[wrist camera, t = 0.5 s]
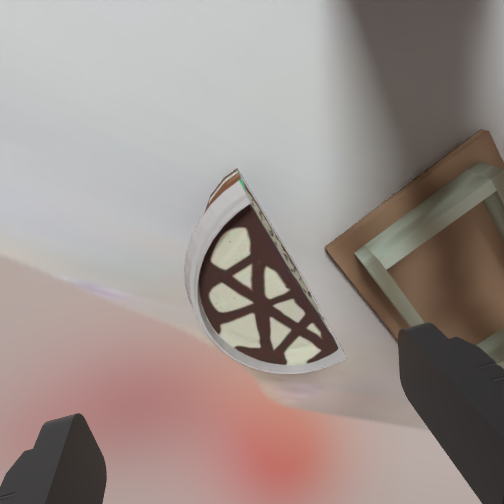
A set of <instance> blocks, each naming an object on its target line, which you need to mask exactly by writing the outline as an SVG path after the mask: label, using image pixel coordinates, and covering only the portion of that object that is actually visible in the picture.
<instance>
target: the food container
mask: <svg viewBox="0 0 504 504" xmlns="http://www.w3.org/2000/svg"><path fill="white" fill-rule="evenodd" d="M184 271H185V286H186V290H187V294H188V298H189V301H190V303H191V305H192V308H193V310H194V312H195V315H196V317H197V319H198V321H199V324H200V325H201V327H202V328H203V330H204V331H205V333H206V334H207V336H208V337H209V338H210V339H211V340H212V341H213V342H214V343H215V344H216V345H217V346H218V347H219V348H220V349H221V350H222V351H223V352H224V353H226V354H227V355H229V356H230V357H231V358H233V359H234V360H236V361H238V362H240V363H242V364H244V365H246V366H248V367H251V368H254V369H257V370H260V371H265V372H270V373H277V374H297V373H307V372H312V371H317V370H321V369H324V368H327V367H330V366H333V365H335V364H338V363H340V362H342V361H344V360H346V359H347V358H346V356H345V353H344V352H343V350H342V348H341V346H340V344H339V342H338V341H337V339H336V337H335V335H334V334H333V332H332V330H331V328H330V326H329V324H328V322H327V321H326V319H325V317H324V315H323V313H322V311H321V309H320V308H319V306H318V304H317V302H316V300H315V298H314V297H313V295H312V293H311V291H310V289H309V287H308V285H307V284H306V282H305V280H304V278H303V276H302V274H301V272H300V271H299V269H298V267H297V265H296V264H295V262H294V260H293V259H292V257H291V255H290V254H289V252H288V251H287V249H286V247H285V246H284V244H283V242H282V241H281V239H280V237H279V236H278V234H277V232H276V231H275V229H274V228H273V226H272V224H271V223H270V221H269V219H268V218H267V216H266V214H265V213H264V211H263V209H262V208H261V206H260V205H259V203H258V201H257V200H256V198H255V196H254V195H253V193H252V191H251V190H250V188H249V186H248V185H247V183H246V181H245V180H244V178H243V177H242V175H241V173H240V172H239V170H238V168H237V169H236V170H234V171H233V172H232V173H230V174H229V175H227V176H226V177H225V178H224V179H223V180H222V181H221V183H220V184H219V185H218V187H217V188H216V189H215V190H214V192H213V193H212V194H211V196H210V199H209V202H208V204H207V207H206V210H205V213H204V215H203V216H202V217H201V219H200V220H199V222H198V224H197V226H196V228H195V230H194V232H193V234H192V236H191V239H190V242H189V246H188V249H187V252H186V260H185V267H184Z"/></svg>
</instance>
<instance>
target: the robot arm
mask: <svg viewBox="0 0 504 504" xmlns="http://www.w3.org/2000/svg"><path fill="white" fill-rule="evenodd" d="M398 347H399V367H400V379H401V384H402V387H403V390H404V392H405V394H406V396H407V398H408V400H409V401H410V403H411V404H412V406H413V407H414V409H415V410H416V411H417V413H418V414H419V416H420V417H421V418H422V420H423V421H424V423H425V424H426V425H427V427H428V428H429V430H430V431H431V432H432V434H433V435H434V436H435V438H436V439H437V441H438V442H439V444H440V445H441V446H442V448H443V449H444V451H445V452H446V453H447V455H448V456H449V457H450V459H451V460H452V462H453V463H454V464H455V466H456V467H457V469H458V470H459V471H460V473H461V474H462V476H463V477H464V478H465V480H466V481H467V483H468V484H469V485H470V487H471V488H472V490H473V491H474V492H475V494H476V495H477V496H478V498H479V499H480V501H481V502H482V504H504V369H503V368H502V367H501V366H500V365H497V364H496V362H495V361H494V360H493V359H492V358H491V357H490V356H489V355H488V354H486V353H485V352H484V351H483V350H482V349H481V348H480V347H478V346H476V345H474V344H472V343H470V342H468V341H465V340H463V339H461V338H459V337H453V338H450V339H448V338H447V337H446V336H445V335H444V334H443V333H442V332H441V331H440V330H439V329H438V328H437V327H436V326H435V325H434V324H432V323H430V322H427V323H423V324H419V325H415V326H412V327H408V328H404V329H401V330H399V333H398ZM106 477H107V475H106V465H105V461H104V457H103V455H102V453H101V451H100V449H99V447H98V445H97V443H96V440H95V438H94V436H93V434H92V432H91V430H90V428H89V426H88V424H87V422H86V420H85V418H84V417H83V416H82V415H81V414H79V413H78V414H74V415H70V416H66V417H63V418H59V419H55V420H51V421H48V422H46V423H45V424H44V425H43V426H42V428H41V431H40V433H39V436H38V438H37V440H36V443H35V445H34V448H33V449H31V450H27V451H25V452H23V454H22V455H21V456H20V457H19V459H18V460H17V461H16V462H15V463H14V465H13V466H12V467H11V468H10V470H9V471H8V472H7V473H6V475H5V477H4V480H3V482H2V485H1V486H0V504H102V503H103V497H104V492H105V487H106Z"/></svg>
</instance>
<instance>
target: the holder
mask: <svg viewBox="0 0 504 504" xmlns="http://www.w3.org/2000/svg"><path fill="white" fill-rule="evenodd" d="M325 249H326V250H327V251H328V253H329V254H330V255H331V257H332V258H333V259H334V260H335V262H336V263H337V264H338V265H339V267H340V268H341V269H342V270H343V272H344V273H345V274H346V275H347V277H348V278H349V279H350V280H351V282H352V283H353V284H354V286H355V287H356V288H357V289H358V291H359V292H360V293H361V294H362V296H363V297H364V298H365V299H366V301H367V302H368V303H369V304H370V306H371V307H372V308H373V310H374V311H375V312H376V313H377V315H378V316H379V317H380V318H381V320H382V321H383V322H384V323H385V325H386V326H387V327H388V328H389V330H390V331H391V332H392V333H393V335H394V336H395V337H396V339H397V340H398V333H399V330H401V329H404V328H408V327H412V326H415V325H419V324H423V323H427V322H430V323H432V324H434V325H435V326H436V327H437V328H438V329H439V330H440V331H441V332H442V333H443V334H444V335H445V336H446V337H447V338H448V339H450V338H453V337H459V338H461V339H463V340H465V341H468V342H470V343H472V344H474V345H476V346H478V347H480V348H481V349H482V350H483V351H484V352H485V353H486V354H488V355H489V356H490V357H491V358H492V359H493V360H494V361H495V362H496V364H497V365H500V366H501V367H502V368H503V369H504V163H503V160H502V158H501V156H500V154H499V152H498V150H497V148H496V145H495V143H494V141H493V139H492V137H491V135H490V132H489V131H487V130H483V129H481V130H480V131H478V132H477V133H476V134H474V135H473V136H472V137H470V138H469V139H468V140H466V141H465V142H464V143H462V144H461V145H460V146H458V147H457V148H456V149H454V150H453V151H452V152H450V153H449V154H448V155H446V156H445V157H444V158H443V159H441V160H440V161H439V162H437V163H436V164H435V165H433V166H432V167H431V168H429V169H428V170H427V171H425V172H424V173H423V174H421V175H420V176H419V177H417V178H416V179H415V180H413V181H412V182H411V183H409V184H408V185H407V186H405V187H404V188H403V189H401V190H400V191H399V192H397V193H396V194H395V195H393V196H392V197H391V198H389V199H388V200H387V201H385V202H384V203H383V204H381V205H380V206H379V207H377V208H376V209H375V210H373V211H372V212H371V213H369V214H368V215H367V216H365V217H364V218H363V219H361V220H360V221H359V222H357V223H356V224H355V225H353V226H352V227H351V228H350V229H348V230H347V231H346V232H344V233H343V234H342V235H340V236H339V237H338V238H336V239H335V240H334V241H332V242H331V243H330V244H328V245H327V246H326V247H325Z"/></svg>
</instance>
